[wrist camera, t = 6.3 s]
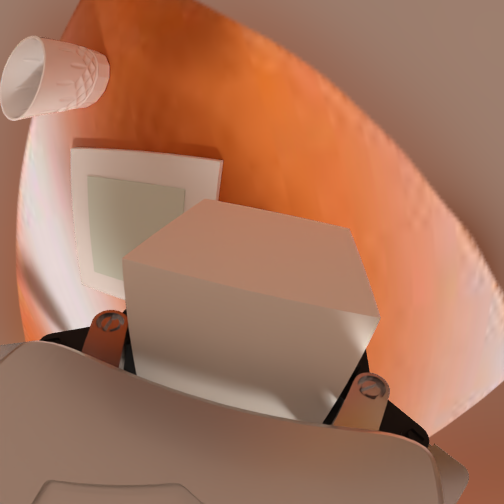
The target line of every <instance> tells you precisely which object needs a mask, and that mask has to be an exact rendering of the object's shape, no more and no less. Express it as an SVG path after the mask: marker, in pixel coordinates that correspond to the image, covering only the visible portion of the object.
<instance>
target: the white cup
mask: <svg viewBox="0 0 504 504" xmlns="http://www.w3.org/2000/svg"><path fill="white" fill-rule="evenodd" d="M109 75H110V65H109V63H108V61H107V58H106V56H105V55H103V54H101V53H99V52H98V51H94V50H91V49H87V48H85V47H82V46H79V45H75V44H72V43H68V42H63V41H59V40H54V39H49V38H44V37H39V36H29V37H27V38H25V39H24V40H22V41H21V42H20V43H19V44H18V45H17V46H16V47H15V49H14V50H13V51H12V53H11V55H10V56H9V58H8V60H7V62H6V65H5V67H4V71H3V74H2V78H1V83H0V104H1V108H2V110H3V113H4V114H5V116H6V117H7V118H8V119H9V120H13V121H15V120H20V119H24V118H30V117H35V116H40V115H46V114H52V113H57V112H62V111H67V110H70V109H76V108H86V107H88V106H90V105H92V104H93V103H95V102H97V101H98V99H99V98H100V97H101V95H102V94H103V93H104V91H105V89H106V86H107V83H108V81H109Z"/></svg>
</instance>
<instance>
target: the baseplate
mask: <svg viewBox="0 0 504 504" xmlns="http://www.w3.org/2000/svg"><path fill="white" fill-rule="evenodd" d="M222 167H223V160H218V159H211V158H203V157H196V156H188V155H179V154H170V153H160V152H150V151H138V150H125V149H108V148H86V147H75V148H71V197H72V212H73V224H74V234H75V243H76V250H77V258H78V264H79V271H80V277H81V282H82V285H84V286H87V287H89V288H92V289H95V290H98V291H100V292H103V293H106V294H109V295H112V296H115V297H117V298H120V299H123V300H125V292H124V280H123V267H122V258H123V257H124V256H125V255H127V254H128V253H129V252H131V251H132V250H133V249H134V248H136V247H137V246H138V245H140V244H141V243H143V242H144V241H145V240H147V239H148V238H149V237H151V236H152V235H153V234H155V233H156V232H158V231H159V230H160V229H162V228H163V227H164V226H166V225H167V224H169V223H170V222H171V221H173V220H174V219H176V218H177V217H179V216H180V215H181V214H183V213H184V212H186V211H187V210H189V209H190V208H192V207H193V206H195V205H196V204H197V203H199V202H200V201H202V200H203V199H210V200H216V201H218V200H219V191H220V183H221V175H222Z"/></svg>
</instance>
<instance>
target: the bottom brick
mask: <svg viewBox="0 0 504 504" xmlns="http://www.w3.org/2000/svg"><path fill="white" fill-rule="evenodd" d="M122 267H123V280H124V292H125V301H126V310H127V319H128V326H129V333H130V340H131V346H132V352H133V358H134V364H135V369H136V375H137V376H140V377H142V378H145V379H147V380H150V381H153V382H155V383H158V384H161V385H164V386H167V387H170V388H173V389H175V390H178V391H182V392H185V393H188V394H191V395H194V396H197V397H201V398H204V399H207V400H211V401H214V402H218V403H222V404H225V405H229V406H233V407H237V408H241V409H245V410H250V411H254V412H258V413H263V414H268V415H273V416H278V417H283V418H288V419H294V420H300V421H306V422H313V423H320V424H322V423H323V421H324V420H325V418H326V417H327V415H328V414H329V412H330V410H331V409H332V407H333V406H334V404H335V402H336V401H337V399H338V397H339V396H340V394H341V392H342V391H343V389H344V387H345V386H346V384H347V382H348V380H349V379H350V377H351V375H352V373H353V372H354V370H355V368H356V366H357V364H358V362H359V361H360V359H361V357H362V355H363V353H364V351H365V349H366V347H367V345H368V343H369V341H370V339H371V337H372V335H373V333H374V331H375V329H376V327H377V325H378V323H379V320H380V314H379V311H378V308H377V305H376V302H375V298H374V295H373V292H372V289H371V286H370V283H369V280H368V278H367V275H366V272H365V269H364V266H363V263H362V261H361V258H360V255H359V252H358V250H357V247H356V244H355V242H354V239H353V237H352V234H351V232H350V229H348V228H344V227H340V226H336V225H331V224H327V223H323V222H318V221H314V220H309V219H305V218H300V217H296V216H291V215H286V214H282V213H277V212H272V211H267V210H262V209H257V208H252V207H247V206H242V205H237V204H232V203H226V202H221V201H216V200H210V199H203V200H202V201H200V202H199V203H197V204H196V205H195V206H193V207H192V208H190V209H189V210H187V211H186V212H184V213H183V214H181V215H180V216H179V217H177V218H176V219H174V220H173V221H171V222H170V223H169V224H167V225H166V226H164V227H163V228H162V229H160V230H159V231H158V232H156V233H155V234H153V235H152V236H151V237H149V238H148V239H147V240H145V241H144V242H143V243H141V244H140V245H138V246H137V247H136V248H134V249H133V250H132V251H131V252H129V253H128V254H127V255H125V256H124V257H123V258H122Z"/></svg>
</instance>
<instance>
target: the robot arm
mask: <svg viewBox="0 0 504 504" xmlns="http://www.w3.org/2000/svg"><path fill="white" fill-rule="evenodd" d="M389 394H390V388H389V385H388V384H387V382H386V381H385V380H384V379H383V378H382V377H380V376H379V375H377V374H374V373H370V372H369V365H368V359H367V353H366V349H365V351H364V353H363V355H362V357H361V359H360V361H359V362H358V364H357V366H356V368H355V370H354V372H353V373H352V375H351V377H350V379H349V380H348V382H347V384H346V386H345V387H344V389H343V391H342V392H341V394H340V396H339V397H338V399H337V401H336V402H335V404H334V406H333V407H332V409H331V410H330V412H329V414H328V415H327V417H326V418H325V420H324V421H323V423H322V424H320V423H313V422H306V421H300V420H294V419H288V418H283V417H278V416H273V415H268V414H263V413H258V412H254V411H250V410H245V409H241V408H237V407H233V406H229V405H225V404H222V403H218V402H214V401H211V400H207V399H204V398H201V397H197V396H194V395H191V394H188V393H185V392H182V391H178V390H175V389H173V388H170V387H167V386H164V385H161V384H158V383H155V382H153V381H150V380H147V379H145V378H142V377H140V376H137V375H136V369H135V364H134V358H133V352H132V346H131V340H130V333H129V326H128V319H127V310H125V311H124V312H123V313H122V312H120V311H116V310H107V311H103V312H101V313H99V314H97V315H96V316H95V317H94V319H93V321H92V323H91V326H90V327H86V328H81V329H75V330H69V331H63V332H57V333H52V334H48V335H46V336H44V337H43V338H42V339H40V341H29V342H23V343H14V344H7V345H0V504H456V503H457V501H458V500H459V498H460V496H461V494H462V493H463V491H464V489H465V487H466V485H467V483H468V480H469V474H468V471H467V469H466V468H465V467H464V466H463V465H462V464H460V463H459V462H458V461H456V460H455V459H454V458H452V457H451V456H450V455H448V454H447V453H446V452H445V451H443V450H442V449H441V448H439V447H438V446H437V445H435V444H434V445H432V446H431V445H430V444H429V437H428V435H427V433H426V431H425V430H424V429H423V428H422V427H421V426H419V425H418V424H417V423H416V422H415V421H413V420H412V419H411V418H410V417H408V416H407V415H406V414H405V413H403V412H402V411H401V410H400V409H399V408H397V407H396V406H395V405H394V404H393V403H391V402H390V401H389V400H388V398H389Z"/></svg>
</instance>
